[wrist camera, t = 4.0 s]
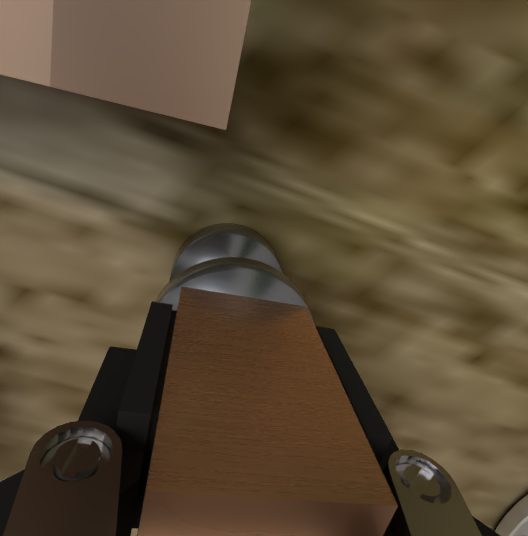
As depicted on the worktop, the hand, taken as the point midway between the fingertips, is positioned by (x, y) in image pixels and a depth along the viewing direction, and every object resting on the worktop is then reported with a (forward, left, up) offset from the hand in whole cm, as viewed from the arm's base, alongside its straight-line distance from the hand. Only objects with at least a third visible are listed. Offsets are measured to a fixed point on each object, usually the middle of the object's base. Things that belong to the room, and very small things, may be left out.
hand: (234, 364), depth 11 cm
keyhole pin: (0, 0, -6) cm, 6 cm away
